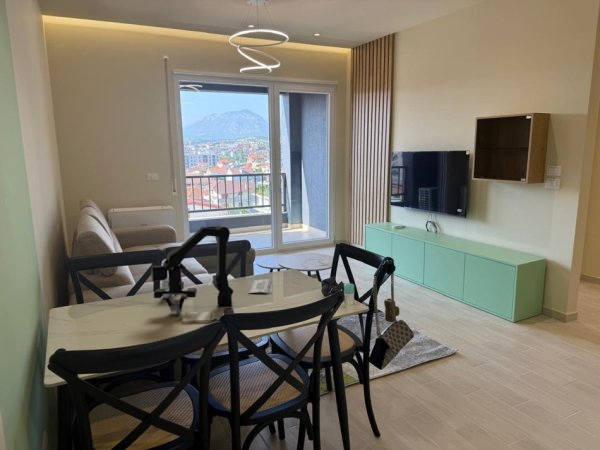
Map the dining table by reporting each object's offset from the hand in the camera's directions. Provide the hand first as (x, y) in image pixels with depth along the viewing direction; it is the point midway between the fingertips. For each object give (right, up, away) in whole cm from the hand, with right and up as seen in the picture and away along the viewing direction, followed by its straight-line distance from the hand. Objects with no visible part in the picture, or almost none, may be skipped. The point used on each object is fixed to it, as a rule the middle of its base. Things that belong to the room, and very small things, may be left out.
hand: (176, 310), depth 196 cm
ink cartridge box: (-10, +3, +24) cm, 26 cm away
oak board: (+12, -2, -7) cm, 14 cm away
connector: (0, -1, 0) cm, 1 cm away
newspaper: (+37, +4, +38) cm, 53 cm away
